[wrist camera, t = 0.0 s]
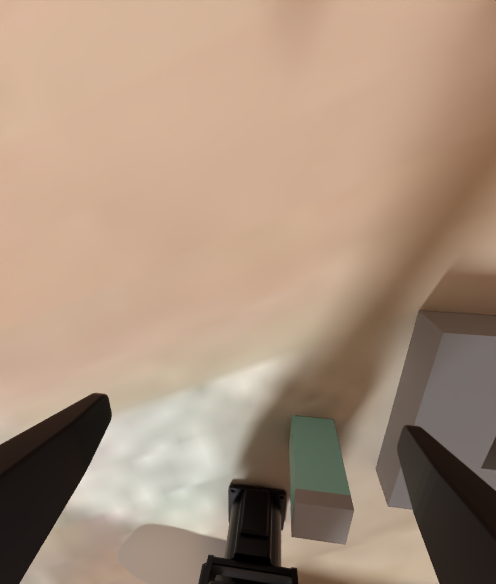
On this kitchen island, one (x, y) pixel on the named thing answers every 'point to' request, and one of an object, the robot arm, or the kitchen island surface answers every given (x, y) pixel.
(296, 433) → the block
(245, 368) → the kitchen island surface
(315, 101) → the kitchen island surface
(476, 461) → the outlet plate
